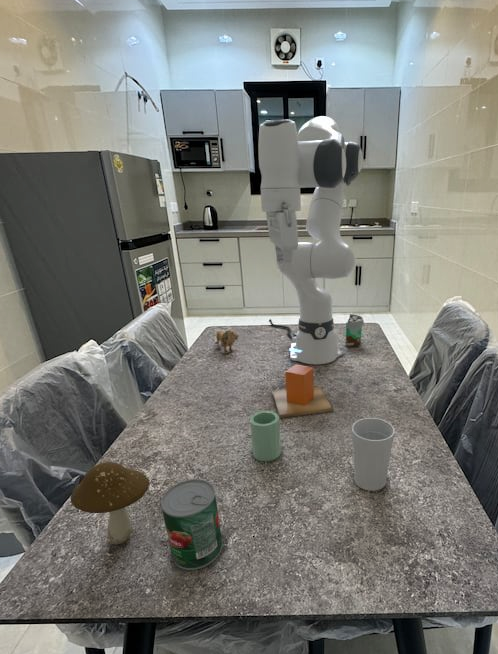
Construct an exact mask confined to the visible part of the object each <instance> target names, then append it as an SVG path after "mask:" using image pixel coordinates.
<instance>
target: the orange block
mask: <svg viewBox="0 0 498 654" xmlns="http://www.w3.org/2000/svg"><path fill="white" fill-rule="evenodd" d="M314 371H315V370H314V367H313V366H308V365H303V364H297V363H295V364H294V365H292V366H291V367H289V368H288V369H287V370H285V372H284V373H285V374H284V375H285V389H286V398H287V402H291V403H295V404H299V405H303V406H305V405H306V404H307V403H308V402H309V401H310V400H311V399H312V398H313V397H314V386H315V377H314V376H315V375H314V373H315V372H314Z"/></svg>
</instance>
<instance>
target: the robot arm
mask: <svg viewBox="0 0 498 654" xmlns="http://www.w3.org/2000/svg"><path fill="white" fill-rule="evenodd" d="M363 164H364V154H363V151H362V147H361V145H360V144H359V143H357V142H354V141H347V142H346V141H345V137H344V135H343V134H342V133H341V132H340V128H339V126H338V124H337V122H336V121H335V120H334V119H333V118H331V117H329V116H325V115H320V116H315V117H313V118H310V119H309V120H308V121H306V122H305V123H304V124H303V125H302V126H301V127H300V128H299V130H298V131H297V124H296V122H295V121H294V120H293V119H290V118H289V119H287V118H286V119H271V120H264V121H263V122H262V123H261V124H260V125H259V131H258V168H259V171H260V175H261V181H260V182H261V183H260V202H261V203H260V204H261V212H263V213H265V215H266V223H267V230H268V238H269V240H270V242H271V243H272V244H273V245H274V250H275V254H276V255H275V256H276V265H277V268H278V270H279V272H280V273H281V274H282V275H284V276H285V277H286V278H287V279H288V280H289V281H290V283H291V284H292V286H293V287H294V289H295V292H296V294H297V299H298V306H299V318H298V330H297V331H296V332H293V333H292V335H291V331H292V330H291V328H290V327H289V326H287V325H279V324H274V323H273V321H272V319H271V318H269V319H268V323H270V325H271V326H272V327H276V328H282V329H286V330H287V335H288V337H289V339H291V344H290V348H289V349H288V350H289V352H290V357H289V359H290V361H294V362H299V363H303V364H307V365H326V364H329V363H332V362H334V361H335V360H337V358H339V357H341V356H342V355H343V352H342V351H341V350H340V349H339V340H338V337H339V336H338V333H337V332H336V331H335V330H334V328H335V327H334V326H335V321H334V318H333V297H332V294H331V293H330V292H329V291H328V290H326V289H324V288H323V287H321V286H320V285H319V284H318V282H317V280H316V279H328V280H336V279H343V278H348V277H349V276H350V275H351V274H352V273H353V272H354V269H355V267H356V263H357V261H356V254H355V252H354V250H353V249H352V247H351V246H350V245H349V244H347V243H346V242H345V241H344V240H343V238H342V235H341V221H342V215H343V210H344V196H345V195H344V194H345V193H344V185H346V186H348V187H349V186H350V185H351V183H352V182H353V181H355V180H356V179H357V177H358V176H359V175H360V174H361V170H362V169H363ZM301 188H302V189H305V188H315V189H314V192H313V194H312V197H311V200H310V203H309V208H308V214H307V218H306V222H305V227H306V231H307V233H308V234H309V236H310V237H312V239H314V240H315V241H316V242H299V232H298V231H299V230H298V218H297V214H296V212H300V211H302V204H301V201H302V200H301Z"/></svg>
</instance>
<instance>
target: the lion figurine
mask: <svg viewBox="0 0 498 654" xmlns="http://www.w3.org/2000/svg"><path fill="white" fill-rule="evenodd" d="M215 337H216V342H214V345H217V347H216V349H217V350H220V349H221V347H220V345H221V346H222V347H223V351H224V352H223V354H225V355H227V354H228V350H229V352H230V353H233V352H234V349H232V347H233V345H234V343H235V342H236V341H238V340H239V338H240V335H239V334H238V333H237V332H235V330H234V329H228V330H226V331H224V330H218V331H217V332H216V336H215ZM227 347H228V350H227Z"/></svg>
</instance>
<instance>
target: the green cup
mask: <svg viewBox="0 0 498 654" xmlns="http://www.w3.org/2000/svg"><path fill="white" fill-rule="evenodd" d="M280 424H281V423H280V417H279V414H278V412H275V411H272V410H260V411H258V412H255V413H253V414H252V415H251V416H250V417H249V426H250V438H251V449H252V456H253V458H254V459H255V460H257V461H259V462H272V461H274V460H277V459H278V458H279V457H280V456H281V454H282V443H281V440H282V439H281V425H280Z"/></svg>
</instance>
